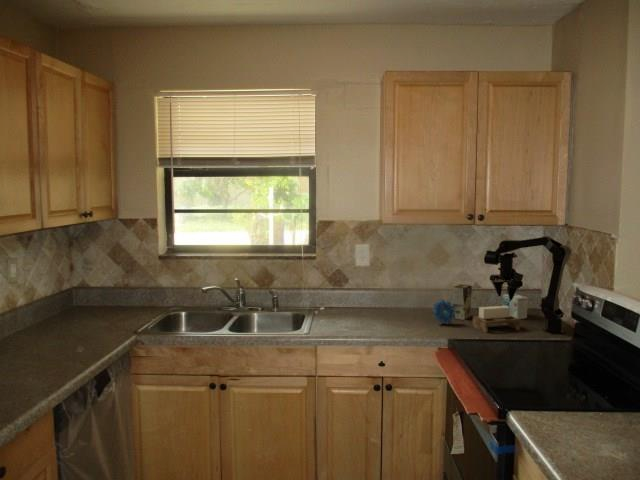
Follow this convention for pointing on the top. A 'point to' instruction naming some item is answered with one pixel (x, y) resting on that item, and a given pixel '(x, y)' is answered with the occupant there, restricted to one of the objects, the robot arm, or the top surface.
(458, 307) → the coffee box
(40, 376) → the top surface
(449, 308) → the grapes
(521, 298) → the light bulb box
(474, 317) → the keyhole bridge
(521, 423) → the top surface
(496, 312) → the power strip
